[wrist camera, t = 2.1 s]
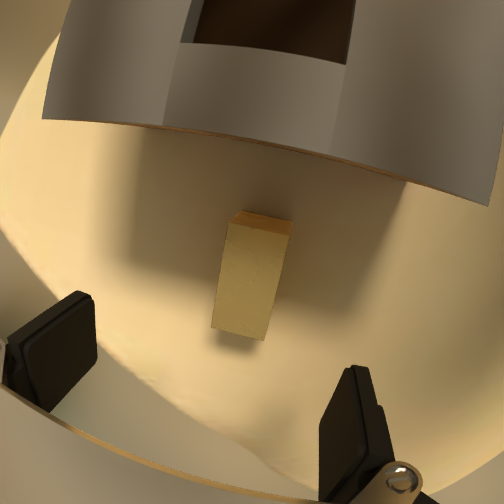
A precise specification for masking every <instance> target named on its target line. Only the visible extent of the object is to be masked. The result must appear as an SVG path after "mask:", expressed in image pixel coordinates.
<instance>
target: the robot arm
mask: <svg viewBox="0 0 504 504" xmlns="http://www.w3.org/2000/svg"><path fill="white" fill-rule="evenodd" d="M7 339H8V344H7V345H5V344H4V342H3V341H2V340H1V339H0V504H439V503H437V502H436V501H435V500H433V499H431V498H430V497H429V496H427V495H426V494H424V493H423V492H422V491H421V488H422V486H423V479H422V476H421V474H420V472H419V471H418V470H417V469H416V468H415V467H414V466H412V465H411V464H408V463H406V462H401V461H395V457H394V452H393V448H392V443H391V439H390V434H389V430H388V426H387V422H386V418H385V414H384V410H383V407H382V406H381V405H378V404H377V400H376V396H375V391H374V388H373V384H372V380H371V376H370V372H369V369H368V367H364V366H358V365H351V367H350V368H345V369H344V371H343V374H342V376H341V378H340V380H339V383H338V385H337V387H336V389H335V391H334V393H333V396H332V398H331V400H330V402H329V404H328V406H327V408H326V410H325V412H324V414H323V416H322V418H321V421H320V424H319V496H318V498H319V501H313V500H306V499H298V498H292V497H285V496H279V495H273V494H268V493H263V492H258V491H253V490H248V489H243V488H238V487H234V486H230V485H226V484H222V483H218V482H214V481H210V480H207V479H203V478H200V477H196V476H193V475H189V474H187V473H183V472H180V471H177V470H174V469H171V468H168V467H165V466H162V465H159V464H157V463H154V462H151V461H149V460H146V459H143V458H141V457H138V456H136V455H133V454H131V453H128V452H126V451H124V450H121V449H119V448H117V447H114V446H112V445H110V444H108V443H105V442H103V441H101V440H99V439H97V438H95V437H93V436H91V435H89V434H87V433H85V432H83V431H81V430H79V429H77V428H75V427H73V426H71V425H69V424H67V423H66V422H64V421H62V420H60V419H58V418H57V417H55V416H53V415H51V414H50V412H51V411H52V410H53V409H54V408H55V406H56V405H57V404H58V403H59V402H60V401H61V400H62V399H63V398H64V397H65V396H66V394H67V393H68V392H69V391H70V390H71V389H72V388H73V387H74V386H75V385H76V384H77V383H78V381H79V380H80V379H81V378H82V377H83V376H84V375H85V374H86V373H87V372H88V371H89V370H90V369H91V367H92V366H94V364H95V363H96V361H97V343H96V327H95V304H94V300H92V297H91V296H90V295H89V294H87V293H84V292H81V291H78V290H77V291H75V292H73V293H72V294H70V295H68V296H67V297H65V298H64V299H62V300H61V301H59V302H58V303H57V304H55V305H53V306H52V307H50V308H49V309H47V310H46V311H44V312H43V313H42V314H40V315H39V316H37V317H36V318H34V319H33V320H31V321H30V322H28V323H27V324H26V325H24V326H23V327H21V328H20V329H18V330H17V331H16V332H14V333H13V334H11V335H10V336H9V337H7Z"/></svg>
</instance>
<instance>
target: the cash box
mask: <svg viewBox="0 0 504 504" xmlns="http://www.w3.org/2000/svg"><path fill="white" fill-rule="evenodd" d="M42 119H52V120H72V121H87V122H100V123H111V124H121V125H131V126H139V127H148V128H158V129H167V130H175V131H183V132H191V133H198V134H205V135H211V136H218V137H224V138H230V139H236V140H242V141H247V142H253V143H258V144H263V145H268V146H273V147H278V148H283V149H288V150H292V151H297V152H301V153H306V154H310V155H314V156H319V157H323V158H327V159H331V160H335V161H339V162H343V163H346V164H350V165H354V166H358V167H361V168H365V169H368V170H372V171H375V172H379V173H382V174H386V175H389V176H392V177H396V178H399V179H402V180H405V181H408V182H412V183H415V184H419V185H422V186H426V187H429V188H432V189H436V190H439V191H442V192H445V193H449V194H452V195H455V196H458V197H461V198H464V199H467V200H470V201H473V202H476V203H478V204H481V205H484V206H487V207H488V205H489V201H490V197H491V192H492V188H493V184H494V179H495V174H496V169H497V164H498V158H499V152H500V146H501V140H502V133H503V125H504V0H71V3H70V6H69V9H68V12H67V14H66V17H65V21H64V24H63V27H62V30H61V33H60V37H59V40H58V44H57V48H56V51H55V55H54V59H53V63H52V67H51V72H50V76H49V81H48V86H47V91H46V96H45V102H44V108H43V114H42Z"/></svg>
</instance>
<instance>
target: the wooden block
mask: <svg viewBox="0 0 504 504" xmlns="http://www.w3.org/2000/svg"><path fill="white" fill-rule="evenodd" d="M291 227H292V222H290V221H286V220H281V219H277V218H273V217H268V216H264V215H259V214H255V213H250V212H246V211H241V212H240V213H238V214H237V215H236V216H235V217H234V218H233V219H232V220H231V221H229V222H228V228H227V233H226V239H225V245H224V251H223V256H222V262H221V268H220V274H219V280H218V286H217V293H216V299H215V305H214V311H213V318H212V324H211V327H212V328H216V329H219V330H223V331H227V332H230V333H234V334H238V335H242V336H246V337H250V338H254V339H258V340H262V341H264V338H265V335H266V331H267V327H268V323H269V319H270V315H271V311H272V307H273V303H274V299H275V295H276V291H277V287H278V283H279V279H280V275H281V271H282V267H283V262H284V258H285V254H286V250H287V246H288V241H289V237H290V232H291Z"/></svg>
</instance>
